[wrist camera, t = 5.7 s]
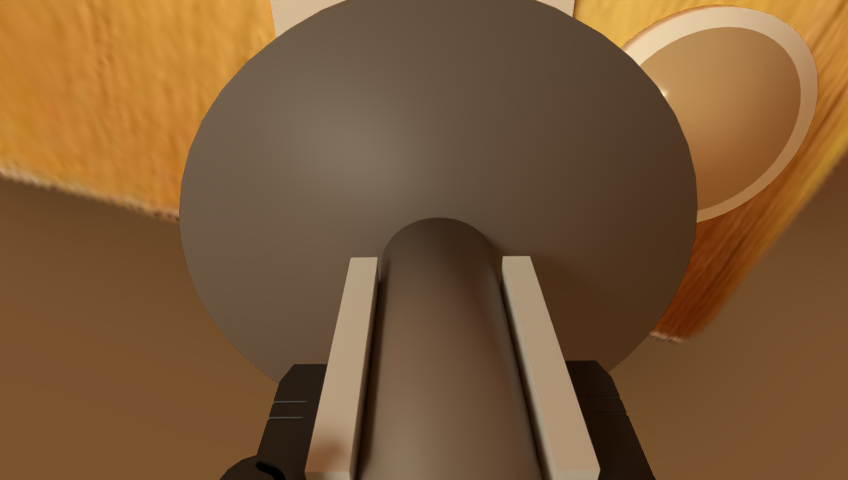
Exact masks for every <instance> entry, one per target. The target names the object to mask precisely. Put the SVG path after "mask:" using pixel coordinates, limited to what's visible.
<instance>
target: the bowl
mask: <svg viewBox="0 0 848 480" xmlns="http://www.w3.org/2000/svg"><path fill="white" fill-rule="evenodd" d="M621 50H623V51H624V52H625V53H626V54H628V55H629V56H630V57H631V58H633V59H634V61H635V62H636V63H637V64H638V65H639V66H640V67H641V68H642V69H643V71H644V72H645V73H646V74H647V75H648V76H649V77H650V78H651V79H652V81H653V82H654V83H655V84H656V85H657V86H658V88H659V89H660V91H661V93H662V94H663V96H664V97H665V99H666V100H667V102H668V104H669V105H670V107H671V108H672V110H673V111H674V113H675V115H676V117H677V119H678V121H679V124H680V126H681V129H682V131H683V133H684V136H685V138H686V140H687V143H688V145H689V149H690V153H691V158H692V162H693V166H694V170H695V175H696V185H697V200H698V212H697V222H701V221H704V220H708V219H711V218H714V217H717V216H719V215H722V214H724V213H726V212H728V211H730V210H732V209H734V208H736V207H738V206H740V205H741V204H743V203H745V202H746V201H748V200H750V199H751V198H752V197H754V196H755V195H756V194H758V193H759V192H760V191H762V190H763V189H764V188H765V187H766V186H768V185H769V184H770V183H771V182H772V181H773V180H774V179H775V178H776V177H777V176H778V175H779V174H780V173H781V172H782V171H783V170H784V168H785V167H786V166H787V165H788V163H789V162H790V161H791V159H792V158H793V157H794V155H795V154H796V152H797V151H798V149H799V147H800V146H801V144H802V142H803V140H804V138H805V136H806V134H807V132H808V130H809V128H810V125H811V122H812V119H813V116H814V112H815V107H816V103H817V93H818V79H817V70H816V66H815V63H814V59H813V56H812V54H811V52H810V50H809V48H808V46H807V44H806V43H805V41H804V40H803V39H802V37H801V36H800V35H799V34H798V33H797V32H796V31H795V30H794V29H793V28H792V27H791V26H790V25H788V24H787V23H785V22H783V21H782V20H780V19H779V18H777V17H774V16H772V15H769V14H767V13H764V12H761V11H756V10H752V9H748V8H743V7H739V6H734V5H706V6H699V7H695V8H690V9H686V10H683V11H680V12H677V13H674V14H672V15H669V16H667V17H665V18H663V19H661V20H659V21H657V22H655V23H653V24H652V25H650V26H648V27H647V28H645V29H644V30H642V31H641V32H639V33H638V34H637V35H635V36H634V37H633V38H632V39H630V40H629V41H628V42H627V43H626V44H625V45H624V46H623V47H622V48H621ZM697 222H696V223H697Z"/></svg>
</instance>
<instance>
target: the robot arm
mask: <svg viewBox="0 0 848 480" xmlns="http://www.w3.org/2000/svg"><path fill="white" fill-rule="evenodd" d="M500 286H501V291H502V295H503V300H504V304H505V309H506V313H507V318H508V322H509V327H510V331H511V336H512V340H513V345H514V350H515V354H516V359H517V363H518V368H519V372H520V377H521V381H522V386H523V390H524V395H525V399H526V404H527V408H528V413H529V417H530V422H531V426H532V431H533V435H534V440H535V444H536V449H537V453H538V458H539V462H540V467H541V471H542V476H543V480H656V479H655V477H654V476H653V474H652V471H651V469H650V467H649V464H648V462H647V459H646V457H645V455H644V452H643V450H642V448H641V445H640V443H639V441H638V438H637V436H636V434H635V431H634V429H633V427H632V424H631V422H630V419H629V417H628V416H627V415H626V410H625V408H624V405H623V403H622V401H621V400H620V397H619V393H618V391H617V389H616V386H615V384H614V382H613V379H612V377H611V376H610V375H609V374H608V373H607V372H606V371H605V370H604V369H603V367H602V366H601V365H600V364H599V363H598V362H597V361H596V360H580V361H564V358H563V355H562V352H561V349H560V346H559V343H558V340H557V337H556V334H555V331H554V328H553V325H552V322H551V319H550V316H549V313H548V310H547V307H546V304H545V301H544V298H543V295H542V292H541V289H540V286H539V283H538V280H537V277H536V274H535V271H534V268H533V264H532V261H531V258H530V256H503V261H502V272H501V283H500ZM378 291H379V269H378V257H362V258H351V259H350V264H349V269H348V273H347V278H346V283H345V287H344V292H343V296H342V301H341V306H340V310H339V315H338V320H337V324H336V329H335V333H334V338H333V343H332V347H331V352H330V357H329V361H328V364H294V365H293V366H292V367H291V368H290V370H289V371H288V372H287V373H286V374H285V376H284V377H283V378H282V379H281V380H280V383H279V386H278V389H277V392H276V395H275V399H274V404H273V405H272V408H271V411H270V415H269V420H268V421H267V424H266V427H265V430H264V434H263V437H262V440H261V443H260V446H259V449H258V453H257V455H255V456H252V457H249V458H246V459H243V460H241V461H240V462H238V463H237V464H235V465H234V466H232V467H231V468H229V469H228V470H227V471H226V473H225V474H224V475H223V476H222V477H221V479H220V480H356V476H357V467H358V459H359V450H360V442H361V434H362V425H363V417H364V409H365V400H366V392H367V384H368V375H369V367H370V358H371V350H372V342H373V333H374V325H375V317H376V308H377V300H378Z"/></svg>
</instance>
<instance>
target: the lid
mask: <svg viewBox="0 0 848 480" xmlns="http://www.w3.org/2000/svg"><path fill="white" fill-rule="evenodd" d="M697 212H698V200H697V185H696V175H695V170H694V166H693V162H692V158H691V153H690V149H689V145H688V143H687V140H686V138H685V136H684V133H683V131H682V129H681V126H680V124H679V121H678V119H677V117H676V115H675V113H674V111H673V110H672V108H671V107H670V105H669V104H668V102H667V100H666V99H665V97H664V96H663V94H662V93H661V91H660V89H659V88H658V86H657V85H656V84H655V83H654V82H653V81H652V79H651V78H650V77H649V76H648V75H647V74H646V73H645V72H644V71H643V69H642V68H641V67H640V66H639V65H638V64H637V63H636V62H635V61H634V59H633V58H631V57H630V56H629V55H628V54H626V53H625V52H624V51H623V50H621V49H620V48H619V47H618V46H616V45H615V44H614V43H613V42H611V41H610V40H609V39H608V38H606V37H605V36H604V35H603V34H601V33H599V32H598V31H596V30H594V29H592V28H591V27H589V26H587V25H585V24H584V23H582V22H580V21H578V20H577V19H575V18H573V17H571V16H570V15H568V14H566V13H564V12H562V11H561V10H559V9H557V8H555V7H553V6H550V5H548V4H545V3H542V2H540V1H537V0H345V1H342V2H340V3H337V4H335V5H332V6H330V7H327V8H325V9H322V10H320V11H319V12H317V13H315V14H314V15H312V16H310V17H308V18H307V19H305V20H303V21H302V22H300V23H298V24H296V25H295V26H293V27H291V28H290V29H288V30H287V31H285V32H284V33H283V34H281V35H280V36H278V37H277V38H276V39H275V40H273V41H272V42H271V43H270V44H269V45H267V46H266V47H265V48H264V49H262V50H261V51H260V52H259V53H257V54H256V55H255V56H254V57H252V58H251V59H250V60H249V61H248V62H246V64H245V65H244V66H243V67H242V68H241V69H240V70H239V71H238V72H237V74H236V75H235V76H234V77H233V78H232V79H231V80H230V81H229V82H228V84H227V85H226V86H225V87H224V88H223V89H222V90H221V92H220V93H219V95H218V97H217V98H216V100H215V101H214V103H213V104H212V106H211V108H210V109H209V111H208V112H207V114H206V115H205V117H204V118H203V120H202V122H201V125H200V127H199V129H198V132H197V134H196V136H195V139H194V141H193V143H192V146H191V148H190V150H189V154H188V158H187V162H186V166H185V170H184V174H183V178H182V183H181V196H180V208H179V216H180V229H181V241H182V246H183V250H184V254H185V258H186V262H187V267H188V270H189V273H190V275H191V278H192V280H193V283H194V285H195V288H196V290H197V293H198V295H199V297H200V299H201V300H202V302H203V304H204V306H205V308H206V309H207V311H208V313H209V314H210V316H211V318H212V320H213V321H214V322H215V324H216V325H217V326H218V327H219V329H220V330H221V332H222V333H223V334H224V336H225V337H226V338H227V339H228V341H230V343H231V344H232V345H233V346H234V347H235V348H236V349H237V350H238V351H239V352H240V353H241V354H242V355H243V356H244V357H245V358H246V359H247V360H248V361H249V362H250V363H252V364H253V365H254V366H255V367H256V368H258V369H259V370H260V371H261V372H263V373H264V374H265V375H266V376H268V377H269V378H270V379H272V380H274V381H275V382H277V383H278V384H279V383H280V380H281V379H282V378H283V377H284V376H285V374H286V373H287V372H288V371H289V370H290V368H291V367H292V366H293V365H294V364H328V361H329V357H330V352H331V347H332V343H333V338H334V333H335V329H336V324H337V320H338V315H339V310H340V306H341V301H342V296H343V292H344V287H345V283H346V278H347V273H348V269H349V264H350V259H351V258H362V257H378V269H379V291H378V300H377V308H376V317H375V325H374V333H373V342H372V350H371V358H370V367H369V375H368V384H367V392H366V400H365V409H364V417H363V425H362V434H361V442H360V450H359V459H358V467H357V476H356V480H543V476H542V471H541V467H540V462H539V458H538V453H537V449H536V444H535V440H534V435H533V431H532V426H531V422H530V417H529V413H528V408H527V404H526V399H525V395H524V390H523V386H522V381H521V377H520V372H519V368H518V363H517V359H516V354H515V350H514V345H513V340H512V336H511V331H510V327H509V322H508V318H507V313H506V309H505V304H504V300H503V295H502V291H501V286H500V283H501V272H502V261H503V256H530V258H531V261H532V264H533V268H534V271H535V274H536V277H537V280H538V283H539V286H540V289H541V292H542V295H543V298H544V301H545V304H546V307H547V310H548V313H549V316H550V319H551V322H552V325H553V328H554V331H555V334H556V337H557V340H558V343H559V346H560V349H561V352H562V355H563V358H564V361H580V360H596V361H597V362H598V363H599V364H600V365H601V366H602V367H603V369H604V370H605V371H606V372H607V373H608V372H609V371H610V370H612V369H613V368H614V367H615V366H616V365H618V364H619V363H620V362H621V361H623V360H624V359H625V358H626V357H627V356H629V354H630V353H631V352H632V351H633V350H634V349H635V348H636V347H637V346H638V345H639V344H640V343H641V342H642V341H643V340H644V339H645V338H646V337H647V336H648V334H649V333H650V332H651V330H652V329H653V328H654V326H655V325H656V324H657V323H658V321H659V320H660V319H661V317H662V316H663V315H664V313H665V311H666V309H667V308H668V306H669V304H670V303H671V301H672V299H673V297H674V296H675V294H676V292H677V290H678V288H679V286H680V283H681V281H682V278H683V276H684V273H685V271H686V268H687V266H688V263H689V259H690V255H691V251H692V247H693V243H694V239H695V233H696V222H697Z"/></svg>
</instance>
